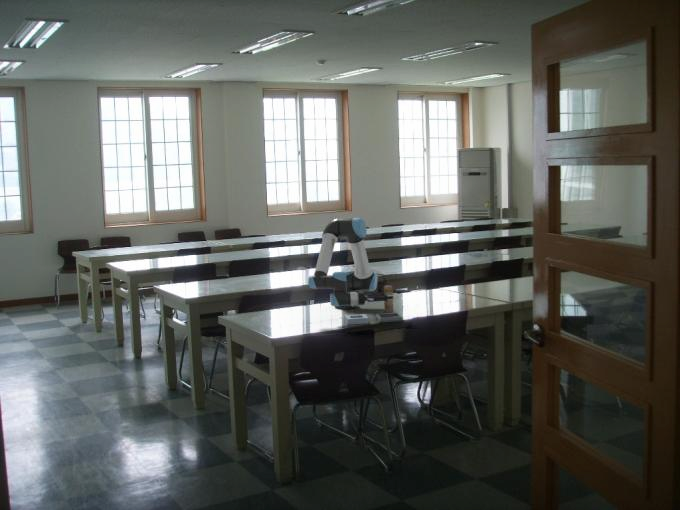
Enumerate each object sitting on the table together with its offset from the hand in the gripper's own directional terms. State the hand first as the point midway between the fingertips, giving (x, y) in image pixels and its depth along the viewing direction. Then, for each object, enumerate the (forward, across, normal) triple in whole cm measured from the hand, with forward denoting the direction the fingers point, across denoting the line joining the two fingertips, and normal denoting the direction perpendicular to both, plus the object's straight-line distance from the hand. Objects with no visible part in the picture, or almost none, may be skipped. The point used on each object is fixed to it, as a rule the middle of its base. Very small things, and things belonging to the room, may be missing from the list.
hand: (397, 296), depth 430 cm
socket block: (-24, 0, -14) cm, 28 cm away
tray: (-5, 0, -13) cm, 14 cm away
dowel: (-5, 0, -9) cm, 10 cm away
